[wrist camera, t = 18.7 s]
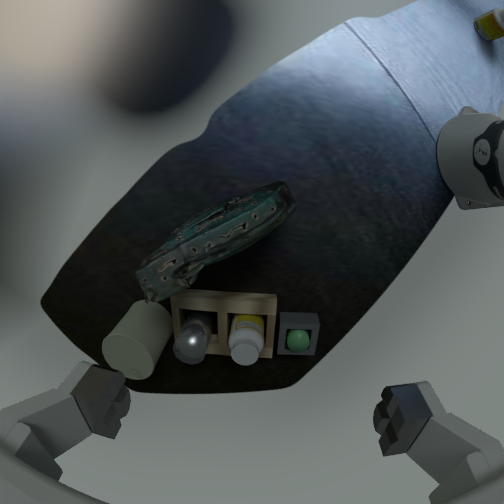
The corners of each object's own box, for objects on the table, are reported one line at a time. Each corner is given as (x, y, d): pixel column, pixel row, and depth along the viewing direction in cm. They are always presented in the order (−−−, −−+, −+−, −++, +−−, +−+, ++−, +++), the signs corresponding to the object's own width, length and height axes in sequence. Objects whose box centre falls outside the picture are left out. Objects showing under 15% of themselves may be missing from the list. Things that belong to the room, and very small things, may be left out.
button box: (316, 313, 48) (319, 324, 45) (311, 343, 50) (314, 355, 47) (279, 312, 48) (280, 322, 45) (276, 342, 50) (277, 354, 47)
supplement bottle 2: (489, 46, 30) (519, 35, 20) (470, 27, 29) (499, 13, 19) (493, 32, 28) (521, 21, 18) (475, 14, 27) (502, 0, 18)
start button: (308, 324, 47) (311, 334, 44) (306, 341, 48) (308, 352, 46) (287, 323, 47) (288, 333, 45) (285, 341, 49) (286, 351, 46)
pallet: (276, 294, 47) (276, 303, 45) (271, 348, 51) (271, 358, 48) (175, 287, 48) (170, 295, 45) (180, 340, 52) (176, 349, 49)
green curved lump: (186, 263, 47) (138, 329, 28) (165, 229, 45) (102, 277, 26) (296, 204, 43) (319, 241, 24) (276, 166, 41) (283, 171, 22)
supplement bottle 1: (249, 338, 50) (245, 374, 41) (226, 320, 50) (217, 354, 40) (270, 320, 49) (270, 355, 40) (247, 301, 48) (243, 333, 39)
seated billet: (215, 307, 49) (204, 340, 39) (216, 330, 50) (205, 365, 41) (188, 304, 49) (171, 336, 39) (189, 328, 50) (174, 362, 41)
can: (145, 346, 53) (121, 385, 41) (120, 307, 50) (90, 342, 39) (183, 335, 51) (164, 377, 40) (158, 293, 49) (131, 329, 37)
